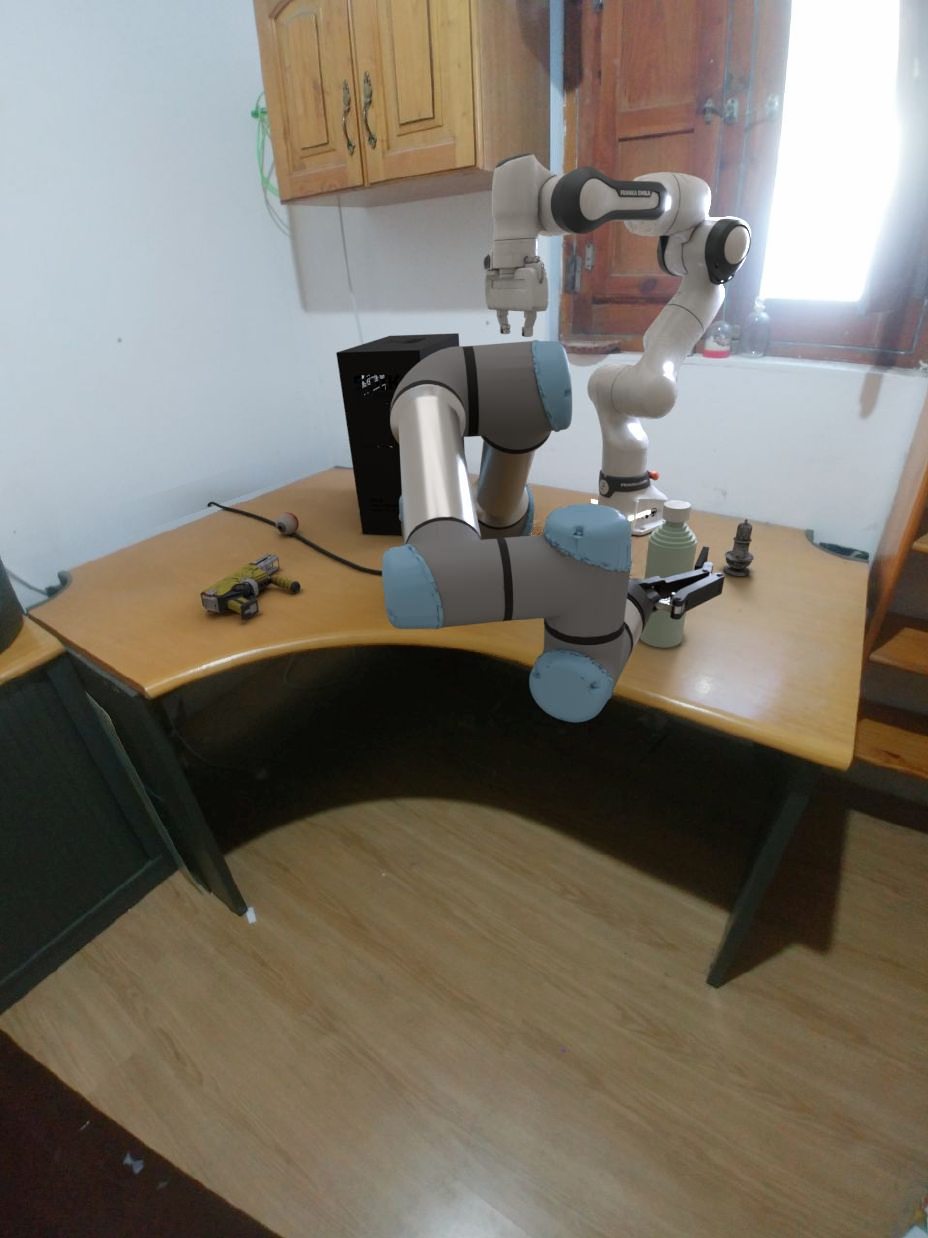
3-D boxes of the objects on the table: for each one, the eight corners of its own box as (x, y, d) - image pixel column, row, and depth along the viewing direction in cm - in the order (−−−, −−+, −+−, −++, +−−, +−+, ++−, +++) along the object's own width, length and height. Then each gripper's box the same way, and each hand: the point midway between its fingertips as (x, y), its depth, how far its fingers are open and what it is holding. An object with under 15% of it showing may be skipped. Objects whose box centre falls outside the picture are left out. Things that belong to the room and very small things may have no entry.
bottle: (682, 628, 113) (701, 500, 101) (681, 650, 107) (702, 516, 94) (639, 623, 115) (653, 497, 103) (636, 644, 109) (651, 513, 96)
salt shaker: (753, 577, 129) (764, 524, 123) (724, 576, 130) (734, 523, 124) (748, 565, 134) (758, 514, 128) (720, 564, 135) (729, 513, 129)
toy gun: (320, 562, 140) (265, 550, 144) (256, 606, 120) (194, 592, 124) (321, 580, 142) (267, 568, 146) (259, 627, 122) (198, 612, 126)
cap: (689, 514, 101) (691, 500, 99) (689, 523, 97) (691, 509, 96) (662, 512, 102) (664, 499, 101) (661, 521, 98) (663, 508, 97)
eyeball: (273, 537, 164) (268, 516, 161) (287, 528, 169) (282, 508, 166) (291, 539, 161) (286, 518, 158) (305, 530, 166) (301, 510, 163)
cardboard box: (434, 536, 158) (419, 349, 136) (362, 533, 163) (336, 352, 140) (466, 490, 190) (458, 333, 167) (405, 489, 194) (389, 335, 172)
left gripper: (507, 626, 74) (565, 560, 90) (724, 672, 63) (745, 588, 80) (506, 571, 70) (567, 512, 87) (736, 610, 60) (756, 535, 76)
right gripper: (557, 254, 111) (556, 336, 118) (505, 258, 127) (506, 331, 134) (528, 255, 109) (527, 339, 116) (478, 260, 125) (481, 333, 132)
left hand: (652, 548), depth 83 cm, fingers open, 13 cm apart
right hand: (516, 335), depth 125 cm, fingers open, 8 cm apart
